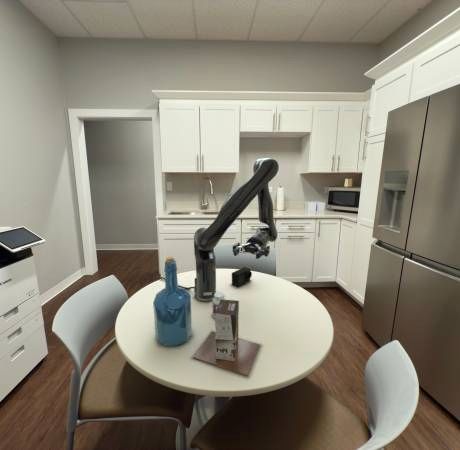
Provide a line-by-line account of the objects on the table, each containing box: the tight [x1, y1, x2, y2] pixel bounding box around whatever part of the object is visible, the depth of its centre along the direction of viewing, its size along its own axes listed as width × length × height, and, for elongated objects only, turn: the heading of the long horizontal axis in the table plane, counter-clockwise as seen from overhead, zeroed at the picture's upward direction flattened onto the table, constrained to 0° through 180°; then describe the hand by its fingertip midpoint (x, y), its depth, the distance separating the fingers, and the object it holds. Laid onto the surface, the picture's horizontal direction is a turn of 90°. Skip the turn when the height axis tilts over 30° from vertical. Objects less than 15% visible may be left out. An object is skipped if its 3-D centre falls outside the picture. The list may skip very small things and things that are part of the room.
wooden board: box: [193, 331, 260, 377], centre depth 83 cm, size 18×14×1 cm
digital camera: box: [231, 266, 253, 288], centre depth 131 cm, size 10×5×7 cm, turn 136°
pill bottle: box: [212, 291, 226, 318], centre depth 102 cm, size 5×5×10 cm
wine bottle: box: [152, 256, 193, 347], centre depth 88 cm, size 14×13×30 cm
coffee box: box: [214, 299, 240, 361], centre depth 81 cm, size 9×6×16 cm
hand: (245, 254), depth 93 cm, fingers open, 8 cm apart
